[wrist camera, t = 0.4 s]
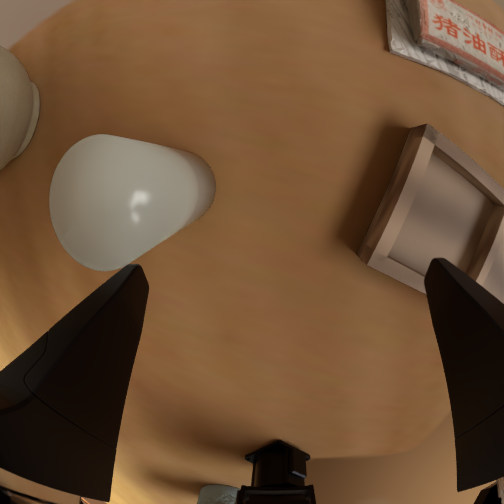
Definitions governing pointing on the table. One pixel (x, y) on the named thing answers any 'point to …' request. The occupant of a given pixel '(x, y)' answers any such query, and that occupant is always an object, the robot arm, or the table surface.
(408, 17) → the packaged product
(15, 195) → the table surface
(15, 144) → the planter bowl
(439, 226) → the divided tray
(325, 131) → the table surface
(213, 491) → the blue-grey cup
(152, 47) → the table surface
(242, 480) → the table surface
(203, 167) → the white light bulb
